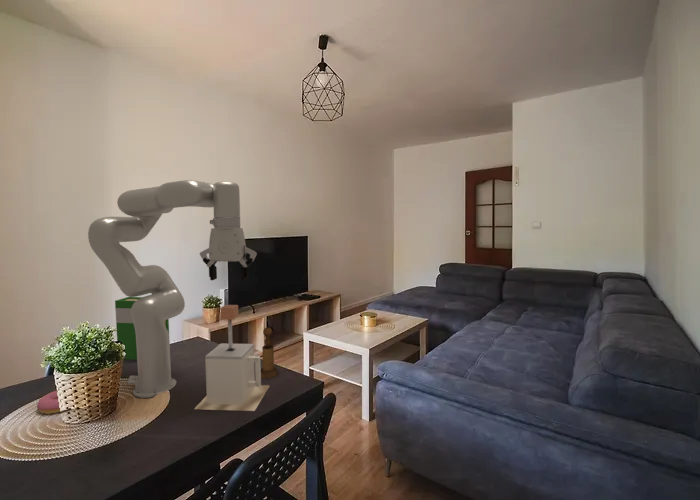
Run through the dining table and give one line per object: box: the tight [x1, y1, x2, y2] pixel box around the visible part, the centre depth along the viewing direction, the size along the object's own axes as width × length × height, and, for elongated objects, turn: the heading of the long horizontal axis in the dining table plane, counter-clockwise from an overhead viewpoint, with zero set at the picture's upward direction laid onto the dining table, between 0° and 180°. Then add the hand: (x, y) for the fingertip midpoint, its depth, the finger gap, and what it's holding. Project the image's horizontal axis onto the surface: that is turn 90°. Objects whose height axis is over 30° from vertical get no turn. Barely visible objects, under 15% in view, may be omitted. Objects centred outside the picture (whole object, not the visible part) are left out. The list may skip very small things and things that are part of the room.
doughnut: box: [36, 390, 61, 415], centre depth 107 cm, size 11×11×4 cm
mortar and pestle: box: [261, 327, 279, 379], centre depth 126 cm, size 7×6×18 cm
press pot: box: [205, 342, 262, 405], centre depth 111 cm, size 15×11×15 cm
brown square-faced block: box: [219, 304, 239, 351], centre depth 110 cm, size 8×8×19 cm
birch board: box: [194, 384, 271, 412], centre depth 111 cm, size 18×16×1 cm
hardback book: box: [114, 296, 170, 361], centre depth 146 cm, size 18×7×24 cm, turn 84°
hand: (229, 279), depth 108 cm, fingers open, 9 cm apart
